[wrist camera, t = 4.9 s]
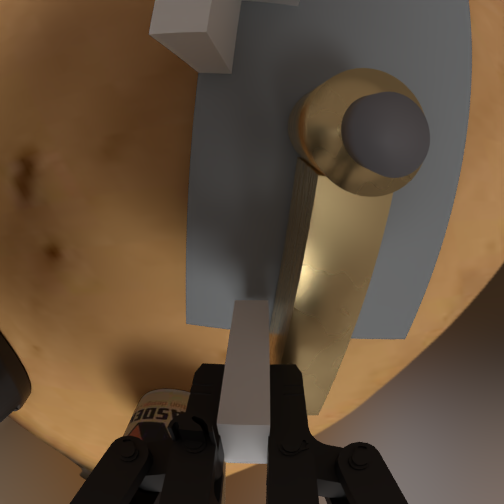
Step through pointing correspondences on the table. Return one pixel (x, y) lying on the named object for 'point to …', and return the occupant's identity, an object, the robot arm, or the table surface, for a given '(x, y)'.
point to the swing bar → (329, 233)
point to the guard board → (285, 156)
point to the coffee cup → (159, 417)
